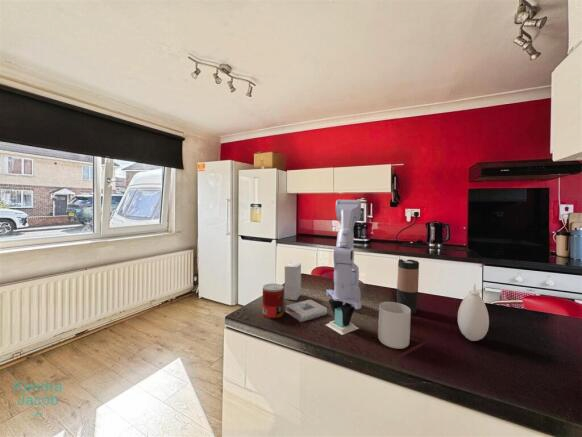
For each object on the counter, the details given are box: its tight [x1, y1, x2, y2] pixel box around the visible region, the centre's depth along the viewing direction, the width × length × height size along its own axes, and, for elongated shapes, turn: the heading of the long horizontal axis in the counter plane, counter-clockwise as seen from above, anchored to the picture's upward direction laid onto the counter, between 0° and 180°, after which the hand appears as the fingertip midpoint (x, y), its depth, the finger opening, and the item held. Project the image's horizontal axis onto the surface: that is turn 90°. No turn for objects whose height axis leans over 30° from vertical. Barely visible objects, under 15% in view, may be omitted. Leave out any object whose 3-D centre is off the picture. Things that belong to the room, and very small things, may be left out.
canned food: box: [262, 283, 285, 319], centre depth 95 cm, size 8×8×11 cm
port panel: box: [285, 299, 328, 323], centre depth 96 cm, size 12×10×3 cm
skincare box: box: [284, 262, 302, 301], centre depth 114 cm, size 8×6×15 cm
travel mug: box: [396, 259, 420, 315], centre depth 101 cm, size 8×8×20 cm
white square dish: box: [324, 319, 360, 336], centre depth 86 cm, size 8×8×2 cm
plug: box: [334, 307, 349, 328], centre depth 86 cm, size 4×4×6 cm
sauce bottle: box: [457, 283, 490, 342], centre depth 79 cm, size 8×8×18 cm
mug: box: [377, 301, 412, 350], centre depth 78 cm, size 12×9×11 cm
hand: (341, 322), depth 86 cm, fingers closed on plug, 3 cm apart
